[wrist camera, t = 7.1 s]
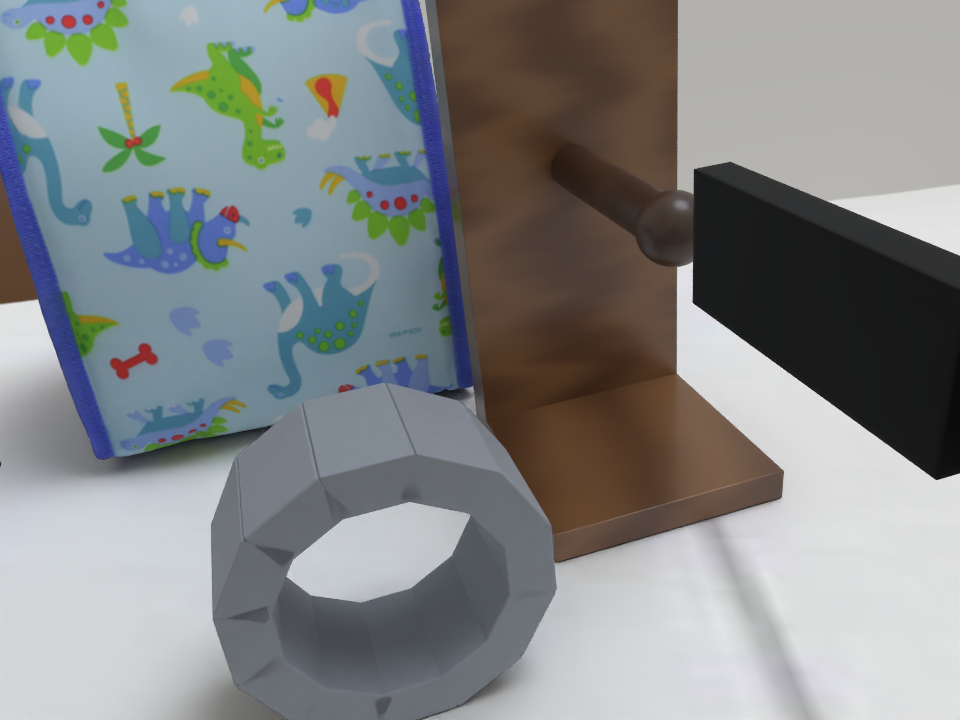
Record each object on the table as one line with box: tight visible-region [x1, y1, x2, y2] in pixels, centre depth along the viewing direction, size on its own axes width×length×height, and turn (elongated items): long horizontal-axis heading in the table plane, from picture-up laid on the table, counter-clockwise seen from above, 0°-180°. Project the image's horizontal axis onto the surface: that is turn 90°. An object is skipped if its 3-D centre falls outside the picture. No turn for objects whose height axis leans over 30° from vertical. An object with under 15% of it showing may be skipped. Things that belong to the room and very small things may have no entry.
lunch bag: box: [0, 0, 473, 460], centre depth 48 cm, size 22×17×26 cm
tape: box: [211, 383, 556, 720], centre depth 30 cm, size 11×5×11 cm, turn 107°
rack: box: [425, 0, 784, 562], centre depth 37 cm, size 11×13×24 cm
